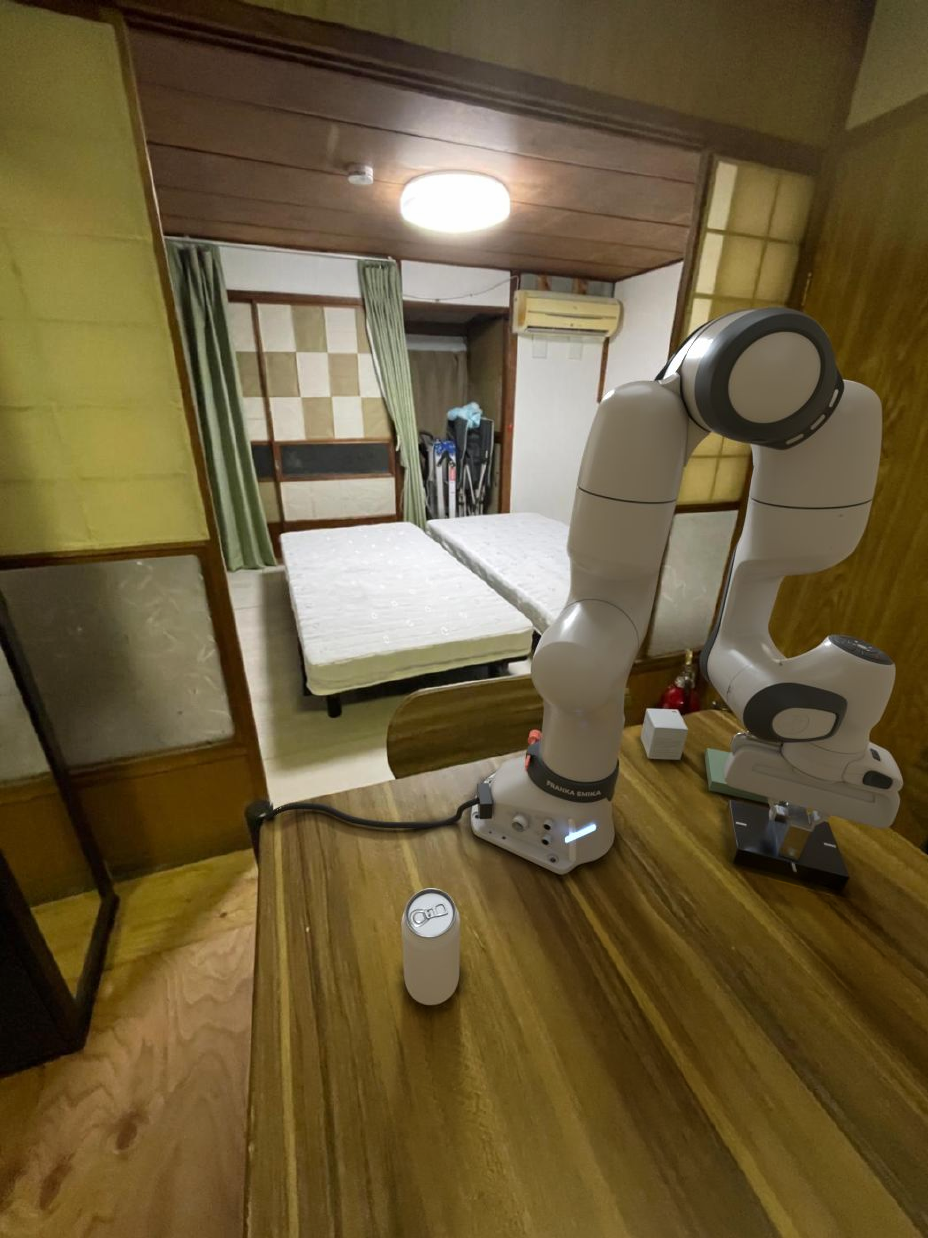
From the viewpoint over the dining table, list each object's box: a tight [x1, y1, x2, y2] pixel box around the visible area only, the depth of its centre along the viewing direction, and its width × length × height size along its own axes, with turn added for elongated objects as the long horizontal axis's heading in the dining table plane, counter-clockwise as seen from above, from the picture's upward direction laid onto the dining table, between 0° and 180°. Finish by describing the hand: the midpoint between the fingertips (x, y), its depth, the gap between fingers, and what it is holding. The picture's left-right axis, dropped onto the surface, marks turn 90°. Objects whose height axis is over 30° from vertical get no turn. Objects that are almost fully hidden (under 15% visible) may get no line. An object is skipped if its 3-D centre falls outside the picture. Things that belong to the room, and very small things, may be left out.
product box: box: [640, 707, 689, 761], centre depth 96 cm, size 6×6×7 cm
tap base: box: [724, 799, 850, 892], centre depth 77 cm, size 14×13×3 cm
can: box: [400, 887, 461, 1006], centre depth 58 cm, size 6×6×12 cm
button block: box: [704, 747, 769, 805], centre depth 89 cm, size 12×9×4 cm
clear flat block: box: [774, 801, 811, 861], centre depth 75 cm, size 9×2×6 cm, turn 155°
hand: (790, 823), depth 75 cm, fingers closed on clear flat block, 2 cm apart
